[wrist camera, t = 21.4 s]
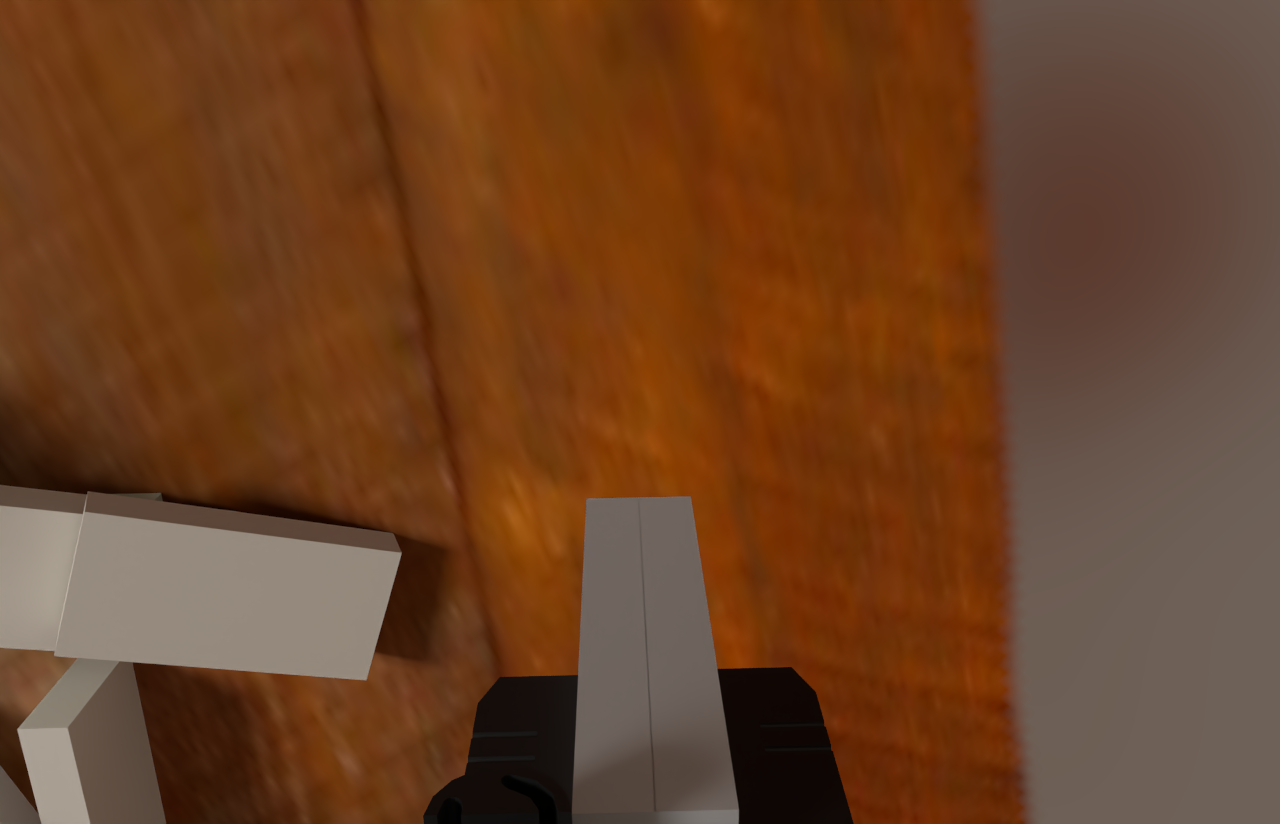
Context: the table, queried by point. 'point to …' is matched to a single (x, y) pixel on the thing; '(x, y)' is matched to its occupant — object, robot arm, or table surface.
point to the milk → (14, 804)
